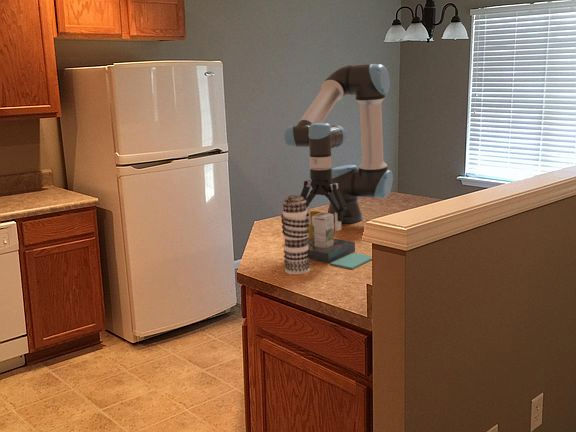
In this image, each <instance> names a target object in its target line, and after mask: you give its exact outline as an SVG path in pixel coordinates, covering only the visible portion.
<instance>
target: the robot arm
mask: <svg viewBox="0 0 576 432" xmlns="http://www.w3.org/2000/svg"><path fill="white" fill-rule="evenodd" d="M390 86H391V79H390V75H389V71H388V70H387V68H386V66H384V65H383V64H378V63H370V64H366V63H365V64H353V65H352V64H350V65H349V64H348V65H344V66H342V67H339V68H338V69H336V70H334V71H333V72H332V73H331V74H329V76H327V77H326V79H324V80H323V82H322V84H321V87H320V91H319V92H318V94H317V95H316V97H315V98H314V99H313V101H312V102H311V104H310V105H309V107H308V108H307V109H306V111H305V113H304V114H303V115H302V117H301V118H300V119H299V121H298V122H297V124H296V125H290V126H287V127H286V129H285V130H284V134H283V136H284V137H283V138H284V142H285V144H286V145H287V146H288V147H294V148H295V147H296V148H308V150H309V168H310V170H309V175H310V179H308V180H304V181H303V188H302V190H301V193H300V194H299V195H300V196H302V197H304V199H305V200H307V202H306V209H307V213H308V214H309V216H306V219H309V222H307V224H309V225H311V218H310V211H311V207H310V204H311V203H312V201H313V200H314V198H315V197H316V195H318V196H319V195H320V196H325V197H326V198H327V199H328V200H329V206H328V210H327V213H330V214H333V215H334V232H337V231H341V230H342V224H353V223H358V222H360V221H362V220H363V212H362V210H361V207H360V205H359V202H358V201H359V200H358V198H371V199H372V198H374V199H385V198H387V197H388V195H389V194H390V192H391V191H392V187H393V182H394V181H393V180H394V175H393V172H392V170H390V169H388V164H387V163H386V162H385V161H384V141H383V140H384V139H383V136H384V135H383V109H382V107H383V106H382V103H383V101H384V100H385V99H386V95H387V94H389V92H390ZM354 95H355V102H357V103H358V105H359V116H360V117H359V118H360V137H361V157H362V158H361V159H362V162H361V163H360V164H359V166H357V165H356V164H346V165H341V166H337V167H333V166H332V164H333V163H332V149H334V148H338V147H340V146H343V144H345V142H346V141H347V138H348V135H347V131H346V129H345V128H344V127H343V126H341V125H336V124H335V125H331V124H330V123H328V122H324V121H325V120H326V118H327V116H328V115H329V113H330V112H331V110H332V109H333V108H334V106H335V105H336V103H337V102H338V101H340V100H342V98H343V97H345V96H354ZM331 167H333V168H331ZM310 189H311V190H310Z"/></svg>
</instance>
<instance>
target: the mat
mask: <svg viewBox="0 0 576 432" xmlns="http://www.w3.org/2000/svg"><path fill="white" fill-rule="evenodd" d="M371 256H372V255H368V254H363V253H357V252H353V253H350V254H348V255H346V256H344V257H342V258H339V259H337V260H335V261H333V262H330V263H329V264H330V266H334V267H338V268H339V267H340V268H344V269H349V270H354V269H356V268H358V267H360V266H362V265H364V264H366V263H368V262H371V261H372V260H371Z"/></svg>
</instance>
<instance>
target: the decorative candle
mask: <svg viewBox="0 0 576 432" xmlns="http://www.w3.org/2000/svg"><path fill="white" fill-rule="evenodd" d="M300 195H301V194H299V195H298V194H296V195H295V194H293V195H287V196H286V197H285V198H284V200H282V201H281V203H282V208H283V209H282V213H281V214H280V219H281V221H280V222H281V223H282V225H281V229H282V234H283V237H282V238H283V239H284V250H283V253H284V255H283V257H284V261H283V263H284V265H283V266H284V272H285V273H286V274H289V275H301V274H306V273H309V272H310V271H311V269H310V266H311V264H310V263H311V260H310V259H309V258H308V257H309V256H310V255H309V251H310V250H309V249H308V243H307V237H308V236H309V235H308V232H309V230H307V229H306V227H308V226H309V224H307V222H309V219H306V216H309V214H308V213H307V209H306V202H307V200H305V199H304V197H302V196H300Z"/></svg>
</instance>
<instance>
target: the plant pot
mask: <svg viewBox="0 0 576 432" xmlns="http://www.w3.org/2000/svg"><path fill="white" fill-rule="evenodd" d="M318 213H325V212H324V211H320V210H310V218H311V225H309V226H308V227H306V229H307V230H309V232H308V235H309V236H308V237H307V240H310V239H313V238H312V216H313V215H316V214H318Z"/></svg>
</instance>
